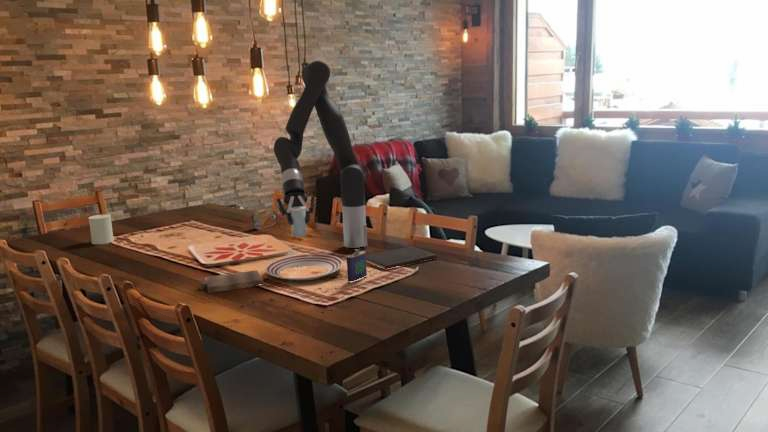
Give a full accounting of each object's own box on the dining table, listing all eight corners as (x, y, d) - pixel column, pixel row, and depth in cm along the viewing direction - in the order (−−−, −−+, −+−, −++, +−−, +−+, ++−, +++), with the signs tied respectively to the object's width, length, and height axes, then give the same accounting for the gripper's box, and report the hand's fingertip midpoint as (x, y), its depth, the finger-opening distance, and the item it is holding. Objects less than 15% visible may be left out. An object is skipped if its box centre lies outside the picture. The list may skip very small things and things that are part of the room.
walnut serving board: (257, 275, 230) (256, 270, 229) (263, 285, 219) (263, 279, 218) (198, 283, 223) (197, 278, 222) (201, 294, 212) (201, 288, 211)
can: (118, 239, 292) (114, 213, 289) (107, 244, 283) (103, 217, 280) (98, 239, 293) (95, 213, 290) (87, 244, 284) (83, 217, 281)
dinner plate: (322, 288, 214) (321, 279, 213) (251, 281, 224) (250, 272, 223) (355, 265, 239) (355, 256, 238) (290, 260, 248) (289, 251, 248)
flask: (362, 275, 226) (361, 245, 223) (369, 276, 224) (368, 246, 221) (345, 282, 218) (344, 251, 216) (352, 284, 217) (351, 253, 214)
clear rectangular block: (254, 231, 297) (253, 213, 295) (249, 230, 299) (248, 212, 297) (278, 224, 309) (277, 207, 307) (273, 224, 311) (272, 206, 309)
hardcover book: (361, 262, 243) (361, 256, 242) (412, 251, 255) (411, 246, 255) (385, 272, 230) (384, 266, 229) (436, 260, 242) (436, 254, 241)
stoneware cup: (307, 232, 233) (305, 205, 231) (307, 236, 228) (305, 208, 225) (292, 233, 232) (290, 205, 230) (291, 237, 227) (289, 209, 225)
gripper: (273, 179, 231) (279, 219, 222) (313, 176, 235) (320, 215, 226) (273, 191, 237) (278, 230, 229) (311, 188, 241) (319, 226, 232)
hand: (299, 222), depth 227 cm, fingers closed on stoneware cup, 5 cm apart
